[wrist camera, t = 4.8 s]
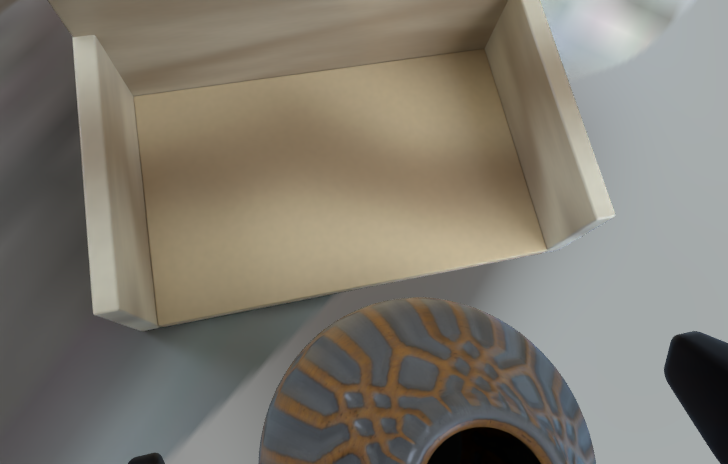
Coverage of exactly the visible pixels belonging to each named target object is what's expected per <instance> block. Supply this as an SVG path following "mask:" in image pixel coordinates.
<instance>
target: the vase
mask: <svg viewBox="0 0 728 464" xmlns="http://www.w3.org/2000/svg"><path fill="white" fill-rule="evenodd" d="M259 464H596V460H595V455H594V450H593V446H592V442H591V438H590V434H589V431H588V428H587V425H586V422H585V419H584V417H583V415H582V412H581V410H580V408H579V405H578V403H577V401H576V399H575V397H574V395H573V394H572V392H571V390H570V388H569V387H568V385H567V383H566V382H565V380H564V379H563V377H562V376H561V374H560V373H559V372H558V370H557V369H556V368H555V367H554V365H553V364H552V363H551V362H550V361H549V359H548V358H547V357H546V356H545V355H544V354H543V353H542V352H541V351H540V350H539V349H538V348H537V347H536V346H535V345H534V344H533V343H532V342H531V341H529V340H528V339H527V338H526V337H525V336H523V335H522V334H521V333H520V332H518V331H516V330H515V329H514V328H512V327H511V326H509V325H508V324H506V323H504V322H503V321H501V320H499V319H498V318H496V317H494V316H491V315H490V314H488V313H486V312H483V311H481V310H479V309H476V308H474V307H471V306H467V305H464V304H461V303H456V302H453V301H449V300H443V299H436V298H419V297H418V298H416V297H413V298H401V299H394V300H388V301H383V302H379V303H375V304H372V305H369V306H366V307H363V308H361V309H358V310H356V311H354V312H352V313H350V314H348V315H346V316H344V317H342V318H341V319H339V320H337V321H336V322H334V323H333V324H331V325H330V326H328V327H327V328H326V329H324V330H323V331H322V332H321V333H319V334H318V335H317V336H316V337H315V338H314V339H313V340H312V341H311V342H310V343H309V344H308V345H307V346H306V347H305V348H304V349H303V350H302V351H301V352H300V354H299V355H298V356H297V357H296V358H295V360H294V361H293V362H292V364H291V365H290V367H289V368H288V370H287V371H286V373H285V374H284V376H283V378H282V380H281V382H280V383H279V385H278V387H277V389H276V391H275V394H274V396H273V398H272V401H271V403H270V406H269V409H268V412H267V415H266V419H265V422H264V426H263V431H262V437H261V442H260V451H259Z"/></svg>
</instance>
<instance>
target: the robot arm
mask: <svg viewBox="0 0 728 464" xmlns="http://www.w3.org/2000/svg"><path fill="white" fill-rule="evenodd" d="M664 373H665V377H666V380H667V382H668V384H669V385H670V387H671V389H672V390H673V392H674V393H675V395H676V396H677V398H678V399H679V401H680V402H681V404H682V406H683V407H684V409H685V410H686V412H687V414H688V415H689V417H690V418H691V420H692V421H693V423H694V425H695V426H696V428H697V429H698V431H699V432H700V434H701V435H702V437H703V438H704V440H705V441H706V443H707V445H708V446H709V448H710V449H711V451H712V452H713V454H714V455H715V457H716V458H717V459H718V461H719V462H720V463H721V464H728V343H726V342H723V341H721V340H718V339H716V338H713V337H711V336H709V335H706V334H703V333H701V332H697V331H693V332H688V333H684V334H679V335H676V336H674V337H673V339H672V340H671V343H670V347H669V351H668V355H667V359H666V363H665V367H664ZM128 464H165V463H164V460H163V458H162V456H161V455H160V454H159V453H151V454H147V455H142V456H138V457H135V458H133V459H132V460H130V461H129V463H128Z"/></svg>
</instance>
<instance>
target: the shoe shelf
mask: <svg viewBox="0 0 728 464" xmlns="http://www.w3.org/2000/svg"><path fill="white" fill-rule="evenodd" d="M48 2H49V3H50V5H51V6H52V8H53V9H54V10H55V12H56V13H57V15H58V16H59V18H60V19H61V21H62V22H63V24H64V25H65V27H66V28H67V29H68V31H69V32H70V34H71V35H72V40H73V53H74V67H75V80H76V93H77V106H78V120H79V133H80V146H81V160H82V173H83V186H84V199H85V213H86V226H87V239H88V252H89V266H90V279H91V292H92V306H93V314H94V315H96V316H99V317H102V318H105V319H107V320H110V321H113V322H116V323H119V324H122V325H125V326H128V327H130V328H133V329H136V330H139V331H146V330H151V329H156V328H159V327H167V326H172V325H177V324H182V323H187V322H192V321H197V320H203V319H208V318H213V317H218V316H223V315H228V314H233V313H239V312H244V311H249V310H254V309H259V308H264V307H269V306H274V305H280V304H285V303H290V302H295V301H300V300H305V299H310V298H316V297H321V296H326V295H331V294H336V293H341V292H346V291H352V290H357V289H361V288H367V287H372V286H377V285H382V284H387V283H393V282H398V281H402V280H408V279H413V278H418V277H423V276H429V275H434V274H439V273H444V272H449V271H454V270H459V269H465V268H470V267H475V266H480V265H485V264H490V263H495V262H501V261H505V260H511V259H516V258H521V257H526V256H531V255H536V254H541V253H544V252H551V251H556V250H560V249H561V248H563V247H565V246H567V245H568V244H570V243H572V242H573V241H575V240H577V239H578V238H580V237H582V236H584V235H585V234H587V233H589V232H590V231H592V230H594V229H595V228H597V227H599V226H600V225H602V224H604V223H606V222H607V221H609V220H611V219H612V218H614V217H615V211H614V208H613V206H612V203H611V200H610V197H609V194H608V192H607V189H606V186H605V183H604V180H603V178H602V174H601V172H600V169H599V166H598V163H597V161H596V157H595V155H594V152H593V149H592V146H591V143H590V140H589V138H588V135H587V132H586V129H585V126H584V124H583V121H582V118H581V115H580V112H579V109H578V107H577V104H576V101H575V98H574V95H573V92H572V90H571V87H570V84H569V81H568V78H567V75H566V73H565V70H564V67H563V64H562V61H561V58H560V56H559V53H558V50H557V47H556V44H555V41H554V39H553V36H552V33H551V30H550V27H549V24H548V22H547V19H546V16H545V13H544V10H543V7H542V5H541V2H540V0H48Z"/></svg>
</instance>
